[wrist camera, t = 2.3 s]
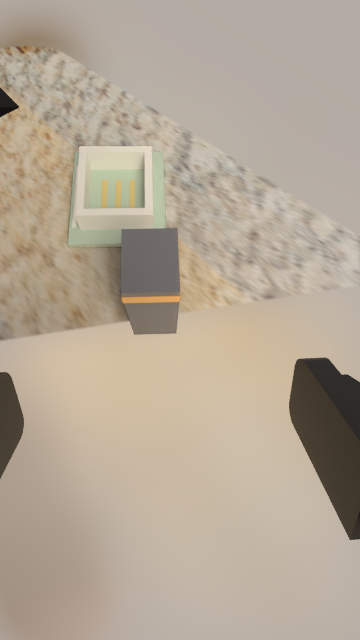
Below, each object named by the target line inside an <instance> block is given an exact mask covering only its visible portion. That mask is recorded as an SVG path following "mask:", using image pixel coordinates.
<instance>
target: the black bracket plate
mask: <svg viewBox="0 0 360 640" xmlns="http://www.w3.org/2000/svg"><path fill="white" fill-rule="evenodd" d="M17 108H19V106H18V105H17V104H16V103H15V102H14V101H13V100H12V99H11V98H10V97H9V96H8V95H7V94H6V93H5V92H4V91H3V90H2V89H1V88H0V117H2V116H3V115H5V114H7V113H9V112H11V111H13V110H15V109H17Z"/></svg>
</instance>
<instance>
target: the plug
mask: <svg viewBox="0 0 360 640" xmlns="http://www.w3.org/2000/svg"><path fill="white" fill-rule="evenodd" d="M120 293H121V299H122V302H123V303H124V305H125V308H126V311H127V314H128V317H129V320H130V323H131V326H132V329H133V331H134V334H169V333H176V330H177V318H178V309H179V302H180V274H179V252H178V233H177V228H157V229H122V234H121V289H120Z"/></svg>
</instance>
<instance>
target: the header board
mask: <svg viewBox="0 0 360 640" xmlns="http://www.w3.org/2000/svg"><path fill="white" fill-rule="evenodd" d="M157 228H165V198H164V166H163V152H152V146H80V147H79V152H75V158H74V171H73V184H72V197H71V210H70V223H69V236H68V246H69V247H121V234H122V229H157Z"/></svg>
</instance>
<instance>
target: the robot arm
mask: <svg viewBox="0 0 360 640" xmlns="http://www.w3.org/2000/svg"><path fill="white" fill-rule="evenodd" d="M289 409H290V416H291V420H292V423H293V425H294V428H295V429H296V431H297V434H298V436H299V437H300V440H301V442H302V444H303V446H304V448H305V450H306V452H307V454H308V456H309V458H310V460H311V462H312V464H313V466H314V468H315V470H316V472H317V474H318V476H319V478H320V480H321V482H322V484H323V486H324V488H325V490H326V492H327V494H328V496H329V498H330V500H331V502H332V504H333V506H334V508H335V511H336V512H337V515H338V517H339V519H340V521H341V523H342V525H343V527H344V529H345V531H346V533H347V535H348V537H349V539H350V540H355V539H360V382H358V381H357V380H355V379H354V378H352V377H351V376H349V375H341V374H340V372H339V371H338V370H337V369H336V368H335V366H334V365H333V364H332V363H331V361H330V360H329V359H327V358H307V359H298V360H297V362H296V364H295V369H294V376H293V382H292V389H291V395H290V402H289ZM23 427H24V419H23V414H22V410H21V407H20V404H19V401H18V397H17V394H16V391H15V387H14V384H13V381H12V378H11V376H10V375H9V374H8V373H6V372H2V373H0V478H1V476H2V474H3V472H4V470H5V468H6V466H7V464H8V462H9V460H10V459H11V457H12V454H13V453H14V450H15V449H16V447H17V444H18V443H19V441H20V439H21V436H22V433H23Z"/></svg>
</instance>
